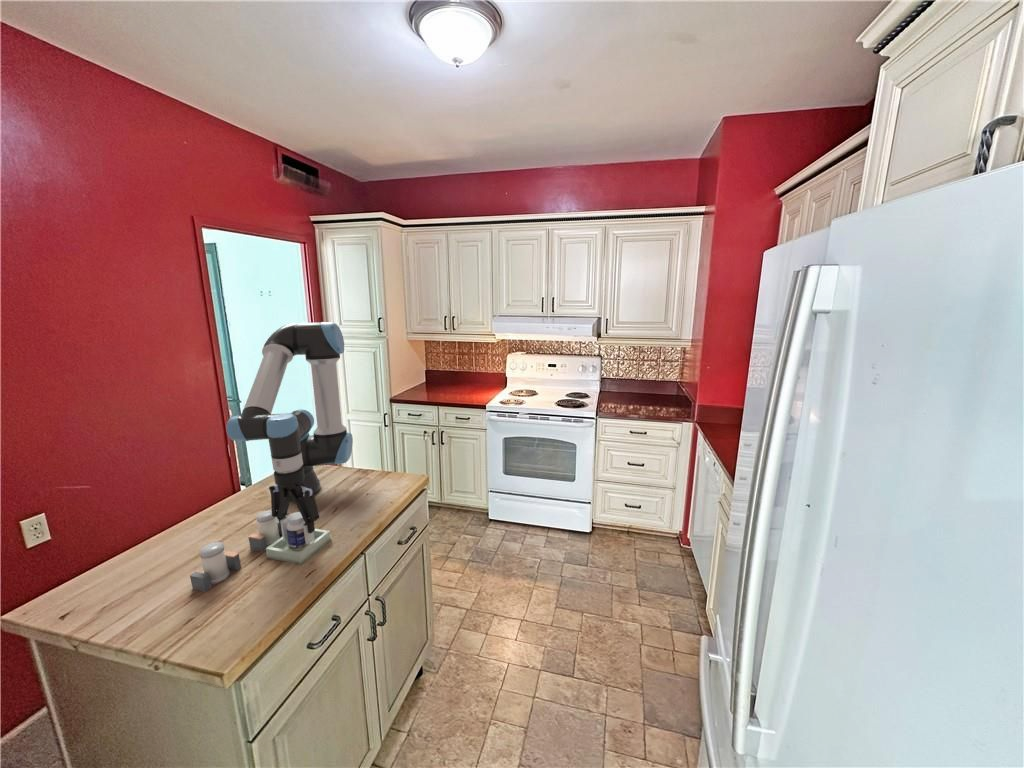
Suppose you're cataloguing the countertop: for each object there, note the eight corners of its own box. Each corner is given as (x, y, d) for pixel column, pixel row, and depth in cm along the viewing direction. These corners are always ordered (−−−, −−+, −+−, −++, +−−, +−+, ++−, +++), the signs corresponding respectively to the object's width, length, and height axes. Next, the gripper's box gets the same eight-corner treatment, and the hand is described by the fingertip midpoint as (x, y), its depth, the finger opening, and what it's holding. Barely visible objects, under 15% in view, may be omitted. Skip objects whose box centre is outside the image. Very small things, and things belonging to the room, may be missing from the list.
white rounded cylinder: (221, 568, 110) (215, 540, 108) (234, 573, 108) (228, 544, 106) (201, 581, 105) (194, 552, 103) (214, 586, 104) (207, 556, 101)
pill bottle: (301, 553, 115) (297, 522, 113) (284, 550, 116) (280, 520, 114) (314, 541, 121) (311, 511, 119) (298, 539, 122) (294, 509, 120)
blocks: (277, 530, 128) (275, 518, 127) (289, 532, 127) (287, 520, 126) (192, 589, 103) (189, 574, 102) (205, 592, 102) (202, 577, 101)
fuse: (270, 534, 126) (266, 509, 124) (284, 537, 125) (280, 511, 123) (256, 544, 121) (251, 517, 119) (270, 547, 120) (265, 520, 118)
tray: (298, 534, 126) (297, 525, 125) (330, 539, 123) (329, 530, 122) (267, 557, 115) (265, 548, 114) (301, 564, 112) (300, 554, 111)
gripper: (248, 470, 112) (260, 542, 117) (308, 477, 107) (318, 552, 112) (270, 459, 119) (281, 528, 124) (327, 466, 114) (336, 537, 119)
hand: (298, 539), depth 118 cm, fingers open, 7 cm apart
